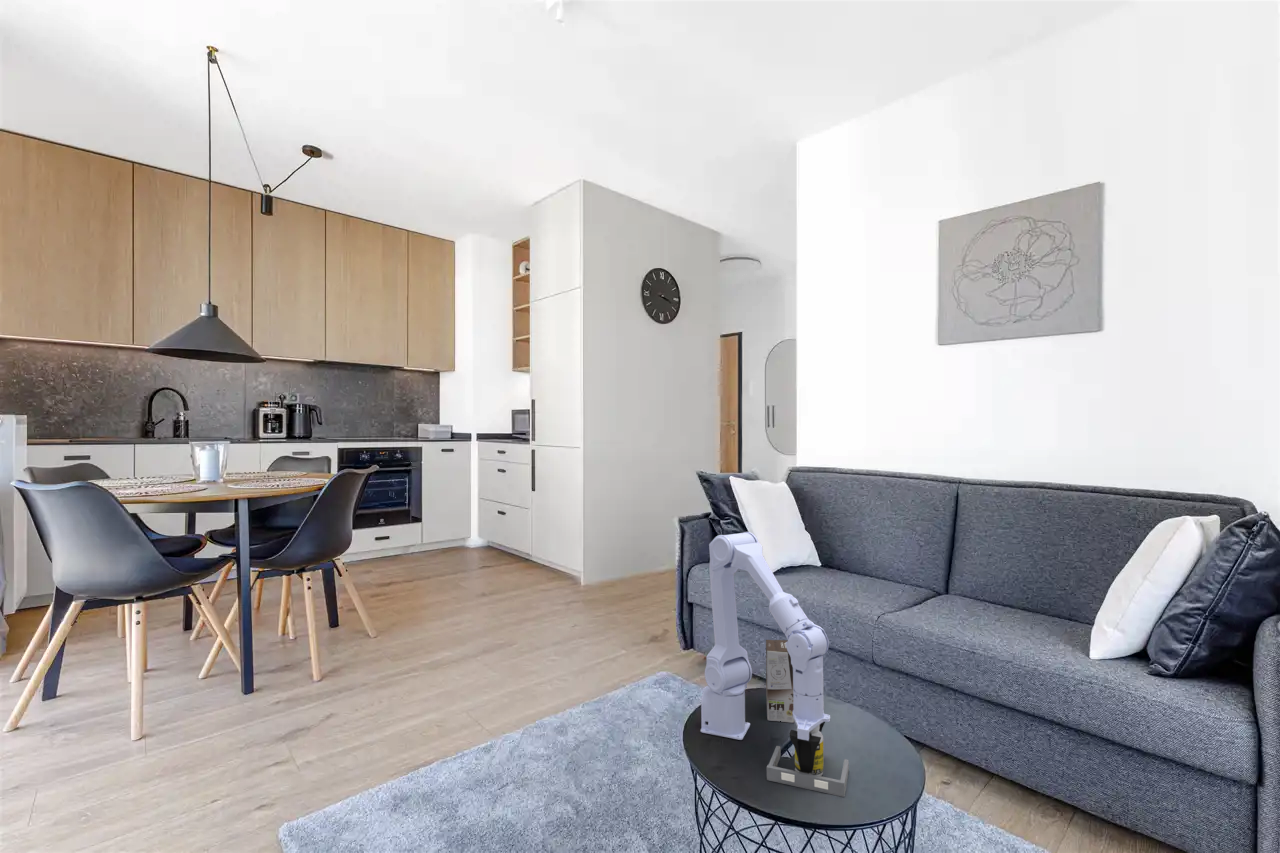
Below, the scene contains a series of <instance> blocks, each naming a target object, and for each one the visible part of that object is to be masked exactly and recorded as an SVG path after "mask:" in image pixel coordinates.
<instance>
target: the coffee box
mask: <svg viewBox="0 0 1280 853" xmlns="http://www.w3.org/2000/svg"><path fill="white" fill-rule="evenodd" d="M787 641H788V639H765V680H766V681H765V682H766V683H765V685H766V688H765V690H766V694H765V695H766V717H767V721H769V722H770V721H771V722H780V721H781V723H782V722H783V723H791V724H793V723H795V721H794V718H793V714H792V712H793V667H792V664H791V657H790V655H789V653H788V651H787V648H786V642H787Z"/></svg>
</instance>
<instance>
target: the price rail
mask: <svg viewBox="0 0 1280 853" xmlns="http://www.w3.org/2000/svg"><path fill="white" fill-rule="evenodd" d="M781 752H782V751H781V746H780V745H776V746H775V749H774V751H773V753H772V756H771V758H770V760H769V762H768V764H767V766H766V781H770V782H773V783H774V782H775V783H779V784H783V785H788V786H792V787H798V788H801V789H807V790H811V791H815V792H820V793H824V794H828V795H834V796H837V797H842V798H845V796H846V789H847V783H848V778H849V772H850V763H849V762H850V761H849V759H846V758H844V759H843V764H842V770H841V775H840V779H836V778H832V777H825V776H822V775H821V776H817V775H813V774H808V773H803V772H798V771H796V770H795V769H794V770H793V769H789V768H784V767H783V768H782V767H779V766H778V764H779V761H780V759H781V755H782V754H781Z"/></svg>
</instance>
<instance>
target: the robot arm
mask: <svg viewBox="0 0 1280 853" xmlns="http://www.w3.org/2000/svg"><path fill="white" fill-rule="evenodd" d="M708 546H709V547H708V549H709V550H708V551H709V565H708V566H709V567H708V568H709V572H708V573H709V583H710V596H711V609H712V610H711V612H712V621H713V622H712V625H713V636H714V646H713V647H712V648H711V650H710V651H709V652H708V653H707V655H706V657H705V658H706V663H705V664H706V665H705V669H704V678H705V682H706V684H707V685H705V686H704V688H703V690H702V693H701V701H700V704H701V705H700V706H701V708H700V709H701V715H700V716H701V718H700V719H701V721H700V722H701V728H700V733H703V734H708V735H712V736H717V737H724V738H729V739H733V740H739V741H742V740H744V738H745V736H746V734H747V733H748V730H749V729H750V727H751V723H750V722H748V721H747V722H746V693H745V692H746V689H748V683H749V682H751V679H752V677H753V669H752V666H751V663H750V660H749V656H748V655H749V654H748V651H747V650H746V649H745V648H744V647H743V646H741V645H740V639H739V638H740V637H739V626H738V613H737V599H736V598H737V597H736V587H735V576H734V575H735V574H736V572H737V571H738V570H741V571H746V572H747V573H748V574H749V575H750V576H751V578H752V580H753V581H754V582H755V583H756V584H757V586H758V587H759V589H760V590H761V591H762V593H763V594H764V595H765V597H766V598H767V599H768V601H769V606H768V611H769V612H770V614H771V615H772V617H773V618H774V620H775V622H776V623H777V625H778V626H779V628H780V630H781V631H782V633H783V634H784V636H785V637H786V640H788V641H787V642H786V648H787V651H788V653H789V655H790V657H791V664H792V667H793V712H792V714H793V718H794V723H795V725H796V727H797V728H796V730H797V731H796V730H795V729H790V731H789V740H790V741H791V743H792V744H793V747H794V751H795V750H796V753H797V758H798V762H799V767H800V770H801V771H803V772H808V773H812V770H813V766H814V759H815V753H816V749H817V747H818V745H819V743H820V740H821V737H817V736H812V734H810V731H811V730H812V729H814V728H815V727H817V726H818V725H820V728H819V731H820V732H821V733H822V730H823V728H824V726H825V723H829V722H830V721H831V715H830V714H827V713H825V712H824V710H825V705H824V704H825V703H824V656H823V655H825V654H826V653H827V652H828V650H829V646H830V645H829V644H830V640H829V637H828V636H827V633H826V631H825V629H824V628H822V627H821V626H820V625H817V624H815V623H814V622H813V621H812V620H810V619H809V618H808V616H807V615H806V614H805V612H804V610H803V608H802V607H801V605H800V604H799V600H798V599H797V598H796V597H794V596H793V594H791V593H787V592H785V591H784V590H783V588H782V587H781V585H780V584H779V581H778V579H777V578H776V576H775V575H774V572H773V571H772V569H771V568H770V565H769V564H768V562H767V561H766V558H765V557H764V555H763V550H764V549H763V546H762V544H761V543H760V542H759V540H758V538H757V536H756V535H755V534H754V533H752V532H750V531H744V532H740V533H733V534H720V535H719V534H718V535H717V536H715V537H714V538H713V539H712V540H711V541H710V542H709V544H708Z"/></svg>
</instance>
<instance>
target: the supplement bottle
mask: <svg viewBox="0 0 1280 853" xmlns="http://www.w3.org/2000/svg"><path fill="white" fill-rule="evenodd" d="M819 728H820V725H818V726H817V727H815V728H814V729H812V730H811V731H810V734H812V736H817V737H821V740H820V743H819V745H818V747H817V749H816V753H815V759H814V766H813V770H812V773H808V772H803V771H801V770H800V767H799V762H798V758H797V753H796V750H795V749H794V771H798V772H803V773H808V774H813V775H817V776H822V775H823V774H824V735H823V733H822V731H821V732H820V731H819ZM795 731H797V729H796V730H795Z"/></svg>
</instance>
